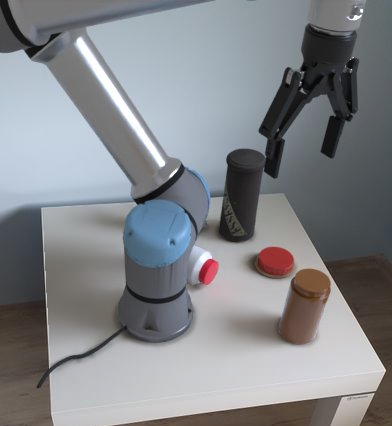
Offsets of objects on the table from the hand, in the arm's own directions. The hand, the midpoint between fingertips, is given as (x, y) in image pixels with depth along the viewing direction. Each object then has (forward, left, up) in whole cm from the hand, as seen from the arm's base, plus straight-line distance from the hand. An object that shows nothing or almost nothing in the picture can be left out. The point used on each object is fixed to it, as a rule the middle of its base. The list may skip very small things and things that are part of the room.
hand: (299, 164), depth 91 cm
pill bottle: (-13, +20, -27) cm, 36 cm away
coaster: (+8, +7, -31) cm, 32 cm away
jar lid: (+8, +7, -29) cm, 31 cm away
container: (+8, +22, -31) cm, 38 cm away
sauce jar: (-2, -11, -31) cm, 33 cm away
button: (+3, +31, -30) cm, 43 cm away
